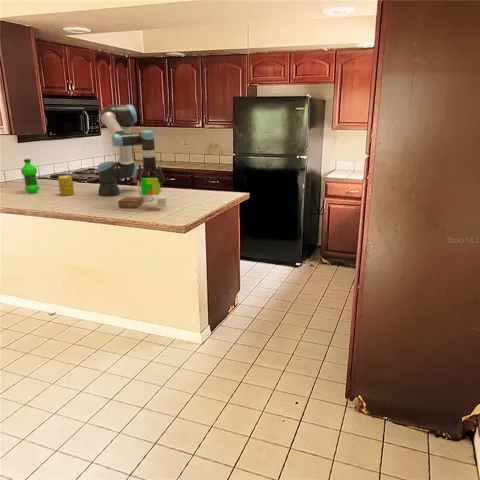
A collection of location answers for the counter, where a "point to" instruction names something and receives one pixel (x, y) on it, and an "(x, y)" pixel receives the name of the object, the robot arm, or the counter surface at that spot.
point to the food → (66, 185)
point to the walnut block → (130, 202)
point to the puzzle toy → (150, 185)
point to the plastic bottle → (30, 177)
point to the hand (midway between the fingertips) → (151, 191)
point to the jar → (145, 197)
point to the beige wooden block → (161, 201)
